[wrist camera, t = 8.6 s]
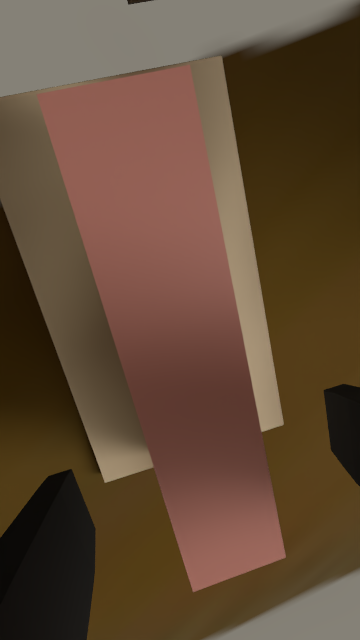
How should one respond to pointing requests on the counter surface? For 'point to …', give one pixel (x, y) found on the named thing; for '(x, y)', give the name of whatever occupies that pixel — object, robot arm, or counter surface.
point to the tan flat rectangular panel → (77, 277)
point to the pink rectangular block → (171, 308)
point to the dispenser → (136, 1)
